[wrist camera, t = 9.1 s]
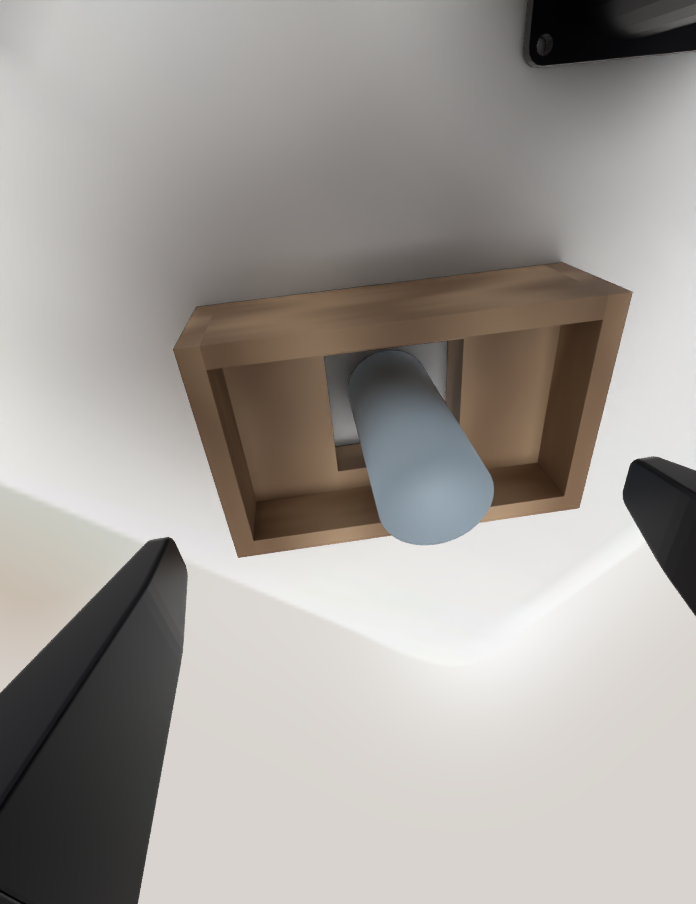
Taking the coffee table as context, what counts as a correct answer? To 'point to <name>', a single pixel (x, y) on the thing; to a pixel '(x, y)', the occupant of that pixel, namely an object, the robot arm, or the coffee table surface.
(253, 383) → the caddy
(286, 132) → the coffee table surface
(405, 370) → the peg
